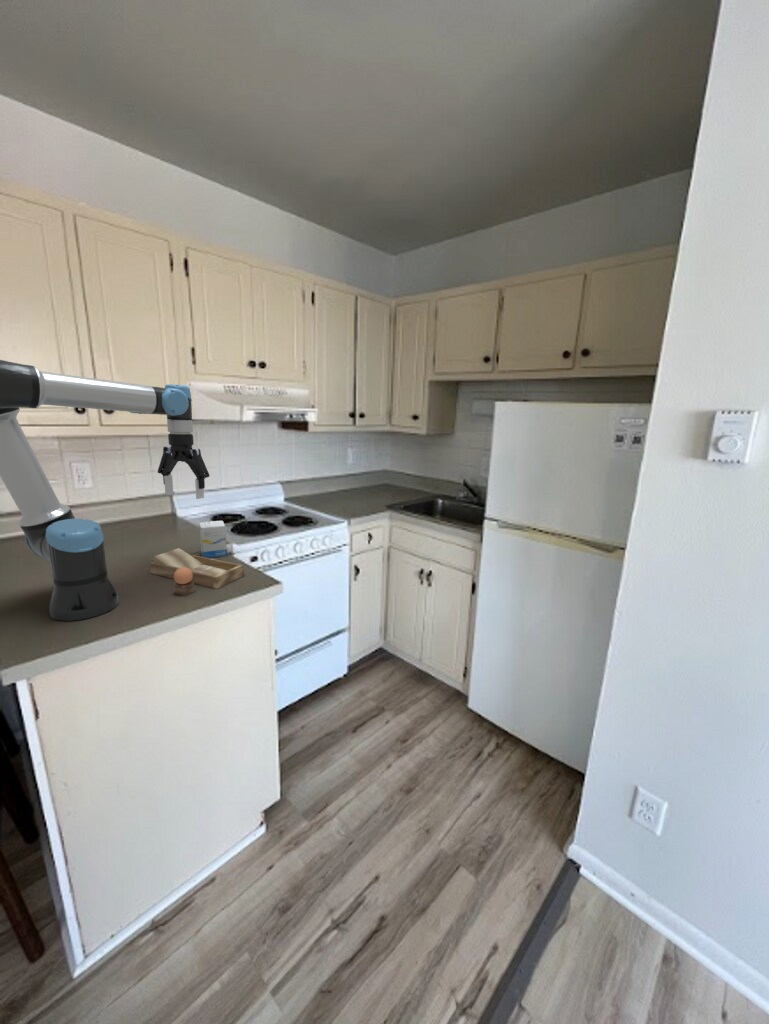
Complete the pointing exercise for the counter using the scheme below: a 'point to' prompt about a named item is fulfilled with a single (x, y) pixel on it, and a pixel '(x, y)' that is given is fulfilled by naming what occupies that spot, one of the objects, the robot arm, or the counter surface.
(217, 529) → the ink box
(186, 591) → the small brown open box
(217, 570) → the tray
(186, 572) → the ball
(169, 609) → the counter surface
